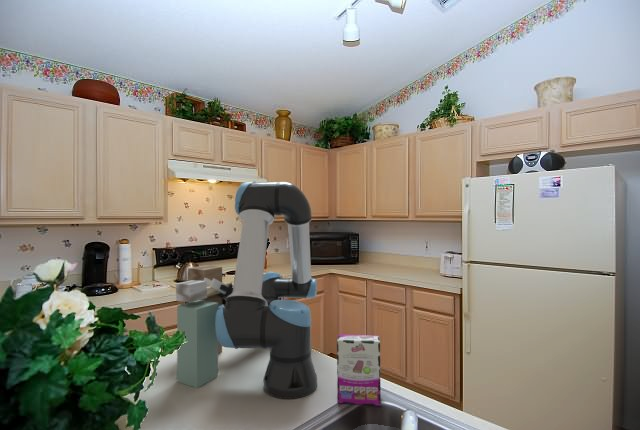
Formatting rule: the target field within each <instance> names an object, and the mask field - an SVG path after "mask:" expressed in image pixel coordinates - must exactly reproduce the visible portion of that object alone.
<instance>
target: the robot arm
mask: <svg viewBox="0 0 640 430" xmlns="http://www.w3.org/2000/svg"><path fill="white" fill-rule="evenodd" d="M234 201H235V202H234V210H235V214H237V216H238V218H239V220H240V222H242V224H241V232H240V238H239V245H238V250H237V258H236V266H235V271H234V272H235V273H234V279H233V284H232V285H231V284H230V285H229V287H228V285H226V284H224V283H223V281H222V282H220V281H218V280H216V279H213V280H212V281H211V280H210V279H208V278H204V281H206V283H207V286H210V287H211V288H213V289H215V290H217V291H219V292H221V293H219V294H215V295H217V296H219V297H221V298H222V300H225V304H222V305H221V306H219V307H218V310H217V312H216V318H215V329H216V335H217V339H218V341H219V343H220V344H221V345H222V348H223V347H224V348H231V349H235V350H238V349H257V350H258V349H260V350H261V349H262V350H264V349H266V350H267V349H268V350H269V360H268V364H267V367H266V370H265V373H264V377H263V389H264V391H265V392H266V393H267V394H268V395H270V396H272V397H275V398H279V399H286V400H287V399H289V400H290V399H296V398H297V399H299V398H302V397H305V396H307V395H310V394H311V393H313V392H314V391H315V390H316V388H317V386H318V375H317V372H316V369H315V366H314V362H313V358H312V345H311V344H312V334H311V333H312V332H311V331H312V330H311V329H312V327H311V326H312V317H311V308H309V306H308V305H306V304H305V303H303V302H301V301H297V300H292V299H289V298H294V299H312V298H313V299H314V298H316V297H317V292H318V282H317V279H316V278H313V277H312V270H311V269H312V266H311V265H312V264H311V243H310V240H311V238H310V222H311V221H312V208H311V205H310V202H309V200H308V199H307V197H306V195H305V194H304V192H303V191H302V190H301V189H300V188H299V187H297V186H296V185H295V184H293V183H292V182H288V181H254V180H253V181H248V182H247V181H246V182H243V183H241V184H240V185H239V186H238V188H237V190H236V193H235V198H234ZM275 216H276V217H279V216H283V218H284V219H283V220H284V222H285V223H286V224H287V230H288V232H287V234H288V244H289V258H290V269H291V278H289V277H288V278H287V277H286V278H282V275H281V274H280V273H278V272H274V271H268V272H266V273H265V265H266V264H265V263H266V257H267V256H266V254H267V246H268V244H267V243H268V237H269V236H268V235H269V229H270V228H269V227H270V225H272V224H273V223H274V222H275V221H274V220H275ZM281 298H282V299H281ZM286 298H288V299H286Z"/></svg>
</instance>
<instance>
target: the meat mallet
mask: <svg viewBox="0 0 640 430" xmlns="http://www.w3.org/2000/svg"><path fill="white" fill-rule="evenodd" d="M222 283H224V284H226V285H228V287H229V285H230V284H231V285H233V282H232V281H222ZM219 293H221V292H219V291H217V290H215V289H213V288H211V287H210V286H207V283H206V281H198V280H191V281H188V280H187V281H183V282H182V281H181V282H178V283H175V295H176V298H175V299H176V302H184V303H188V302H194V301H197V300H201V299H205V298H207V297H208V296H211V295H215V294H219Z"/></svg>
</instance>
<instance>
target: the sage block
mask: <svg viewBox="0 0 640 430" xmlns="http://www.w3.org/2000/svg"><path fill="white" fill-rule="evenodd" d="M176 308H177V310H176V314H177V315H176V317H177V318H176V319H177V320H176V323H177V324H176V326H177V327H176V328H177V330H176V331H178V330H180V331H185V336H186V340H187V341H188V342H187V343H184V344H182V345H181V347H180V349H179V350H177V349H176V353H177V355H176V356H177V357H176V363H177V364H176V365H177V366H176V367H177V370H176V372H177V373H176V375H177V377H176V378H177V379H176V382H178V383H181V384H183V385H186V386H190V387H192V388H194V389H195V388H196V389H198V388H200V387H201V386H203V385H205V384H207V383H208V382H210V381H212V380H214V379H216V378H217V377H219V354H218V339H217V335H216V329H215V318H216V312H217V310H218V303H216V302H210V301H204V300H197V301H194V302H189V303H188V302H184V303H182V304H178V305H176Z"/></svg>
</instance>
